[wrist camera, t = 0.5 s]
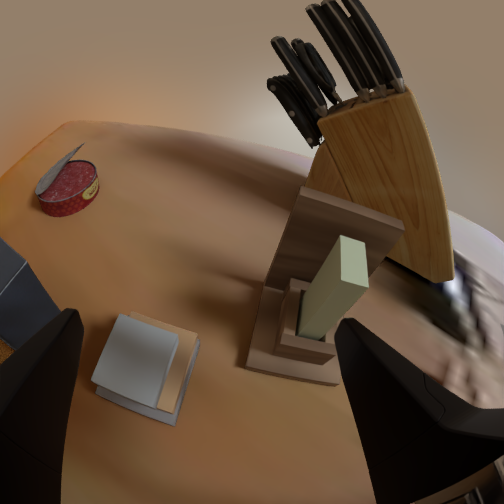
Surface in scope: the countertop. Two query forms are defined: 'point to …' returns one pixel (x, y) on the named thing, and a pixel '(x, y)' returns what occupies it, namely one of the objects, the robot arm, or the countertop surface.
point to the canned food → (68, 186)
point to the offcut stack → (146, 366)
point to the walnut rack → (301, 276)
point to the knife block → (368, 133)
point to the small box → (21, 299)
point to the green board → (333, 289)
